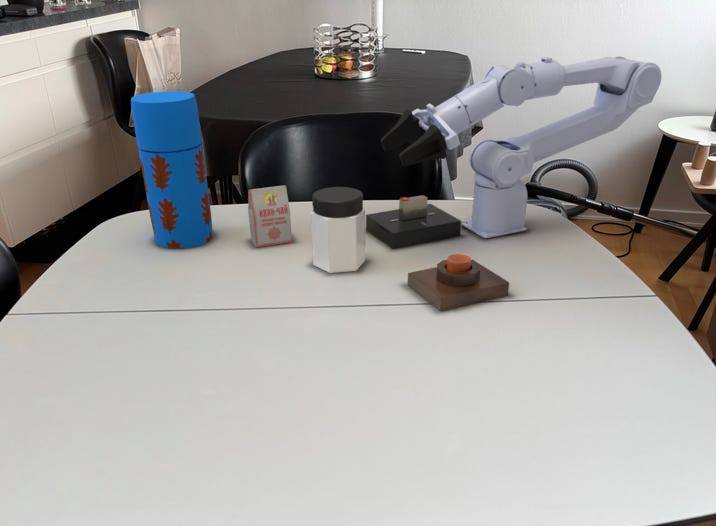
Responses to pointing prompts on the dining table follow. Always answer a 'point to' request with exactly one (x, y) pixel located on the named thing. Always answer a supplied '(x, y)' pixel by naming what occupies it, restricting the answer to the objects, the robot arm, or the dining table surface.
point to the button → (458, 263)
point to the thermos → (173, 167)
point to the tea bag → (269, 216)
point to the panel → (412, 227)
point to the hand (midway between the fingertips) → (391, 153)
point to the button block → (457, 285)
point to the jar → (338, 229)
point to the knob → (412, 207)
